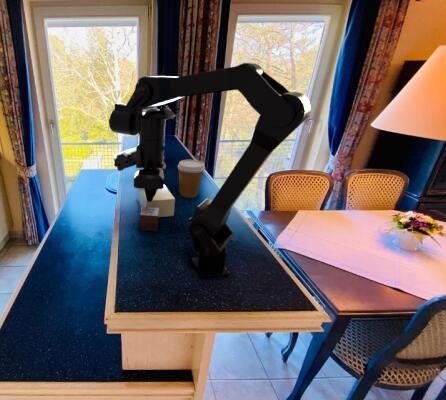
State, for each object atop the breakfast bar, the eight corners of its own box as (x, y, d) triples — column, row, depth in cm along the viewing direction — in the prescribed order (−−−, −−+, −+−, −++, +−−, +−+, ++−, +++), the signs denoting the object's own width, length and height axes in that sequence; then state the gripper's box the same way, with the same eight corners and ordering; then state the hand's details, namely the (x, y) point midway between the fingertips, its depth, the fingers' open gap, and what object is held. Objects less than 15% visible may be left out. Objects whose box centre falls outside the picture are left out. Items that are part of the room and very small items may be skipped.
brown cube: (157, 231, 75) (158, 216, 73) (140, 230, 76) (140, 214, 74) (158, 222, 80) (158, 207, 77) (141, 221, 80) (141, 206, 78)
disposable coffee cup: (202, 200, 93) (206, 168, 88) (174, 198, 95) (177, 166, 90) (201, 190, 101) (204, 160, 96) (175, 188, 103) (178, 158, 98)
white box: (173, 215, 83) (175, 192, 80) (143, 218, 82) (144, 195, 78) (162, 198, 95) (163, 177, 92) (135, 200, 94) (135, 179, 90)
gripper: (121, 129, 68) (122, 185, 75) (108, 147, 51) (110, 217, 58) (165, 130, 67) (162, 187, 74) (165, 149, 50) (161, 220, 57)
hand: (149, 201), depth 66 cm, fingers closed
